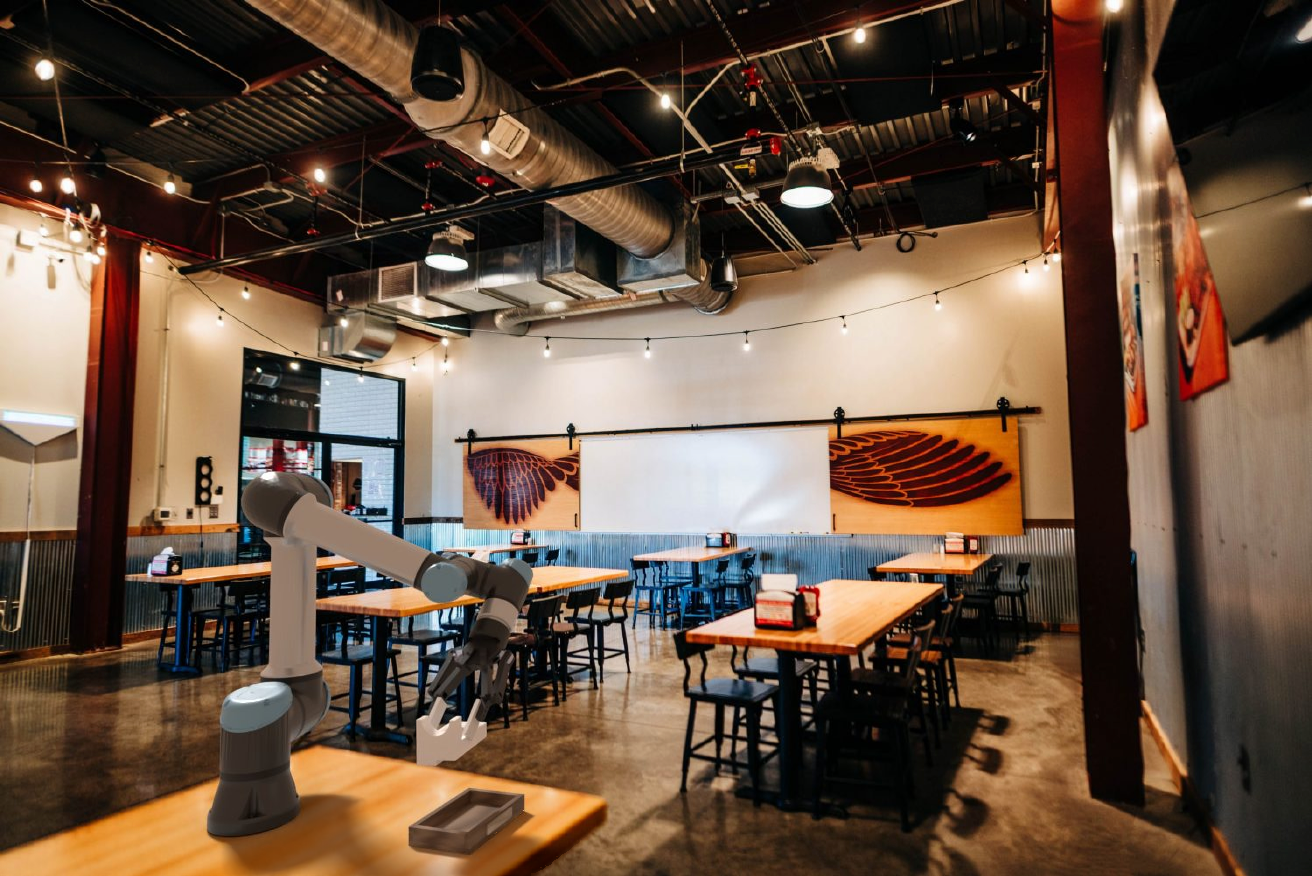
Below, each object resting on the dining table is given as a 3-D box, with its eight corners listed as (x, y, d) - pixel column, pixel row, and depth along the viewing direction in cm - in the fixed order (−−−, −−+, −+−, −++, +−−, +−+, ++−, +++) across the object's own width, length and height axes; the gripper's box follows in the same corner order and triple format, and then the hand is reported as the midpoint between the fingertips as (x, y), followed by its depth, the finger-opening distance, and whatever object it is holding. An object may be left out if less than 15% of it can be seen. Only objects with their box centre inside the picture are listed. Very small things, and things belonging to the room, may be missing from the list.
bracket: (455, 766, 126) (454, 720, 126) (416, 765, 127) (416, 720, 128) (486, 741, 139) (486, 700, 139) (451, 740, 140) (451, 699, 140)
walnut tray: (408, 845, 125) (408, 826, 125) (468, 804, 142) (468, 787, 142) (471, 854, 121) (471, 835, 121) (525, 811, 138) (525, 794, 138)
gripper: (545, 639, 147) (506, 750, 130) (457, 637, 153) (408, 742, 137) (532, 616, 142) (489, 728, 126) (441, 615, 149) (389, 721, 132)
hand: (447, 735), depth 131 cm, fingers closed on bracket, 7 cm apart
